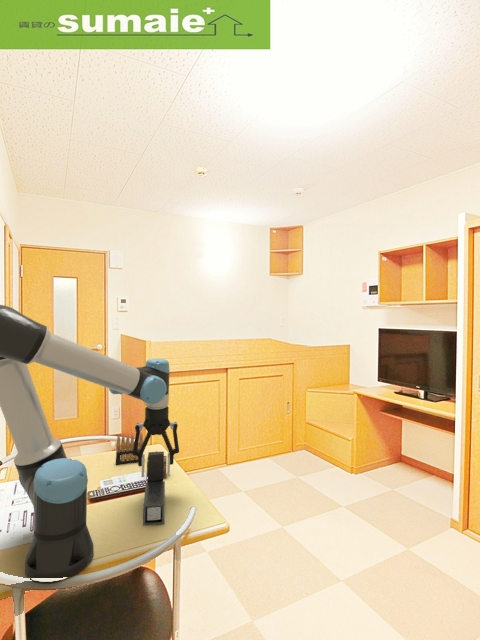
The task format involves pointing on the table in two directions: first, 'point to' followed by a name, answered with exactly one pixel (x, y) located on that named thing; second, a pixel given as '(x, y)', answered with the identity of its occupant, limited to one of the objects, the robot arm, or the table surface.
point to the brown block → (164, 467)
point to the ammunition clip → (127, 450)
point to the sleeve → (154, 501)
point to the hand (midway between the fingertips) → (155, 474)
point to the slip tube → (155, 480)
